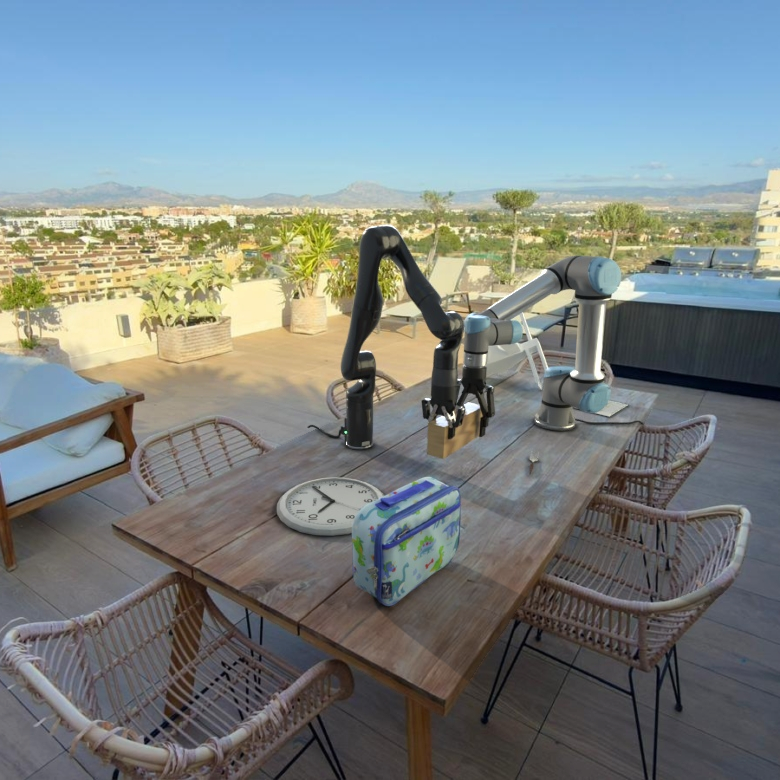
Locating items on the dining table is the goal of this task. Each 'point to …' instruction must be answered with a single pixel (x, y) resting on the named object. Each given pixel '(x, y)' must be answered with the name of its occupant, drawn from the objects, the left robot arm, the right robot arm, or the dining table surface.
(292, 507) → the wall clock
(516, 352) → the white plastic object
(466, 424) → the box
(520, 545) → the dining table surface
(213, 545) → the dining table surface
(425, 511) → the lunch box
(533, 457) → the fork
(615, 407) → the invitation card
